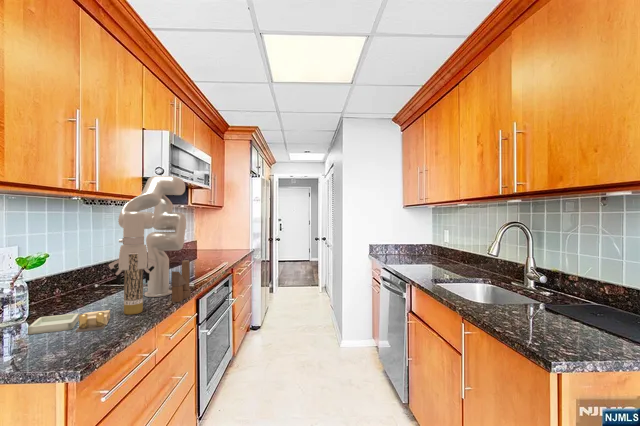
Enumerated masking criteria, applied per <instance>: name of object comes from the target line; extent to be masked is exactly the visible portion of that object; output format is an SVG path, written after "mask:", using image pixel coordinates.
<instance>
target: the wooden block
mask: <svg viewBox="0 0 640 426" xmlns="http://www.w3.org/2000/svg"><path fill="white" fill-rule="evenodd" d="M190 267H191V265H190V260H188V259H185V260H182V261H181V272H180V271H171V290H172V294H171V302H172V303H180V302H182V301H183V300H186V299H187V298H191V294H192V293H191V289H190V284H191V283H190V277H191V276H190V273H191V272H190Z"/></svg>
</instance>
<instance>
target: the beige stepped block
mask: <svg viewBox="0 0 640 426" xmlns="http://www.w3.org/2000/svg"><path fill="white" fill-rule="evenodd" d="M98 312H104V324H105V326H107V325H108V323H109V321H110V319H111V309H107V310H99V311H97V310H96V311H89V312H84V314H88V317H87V326H95V325H96V313H98Z"/></svg>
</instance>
